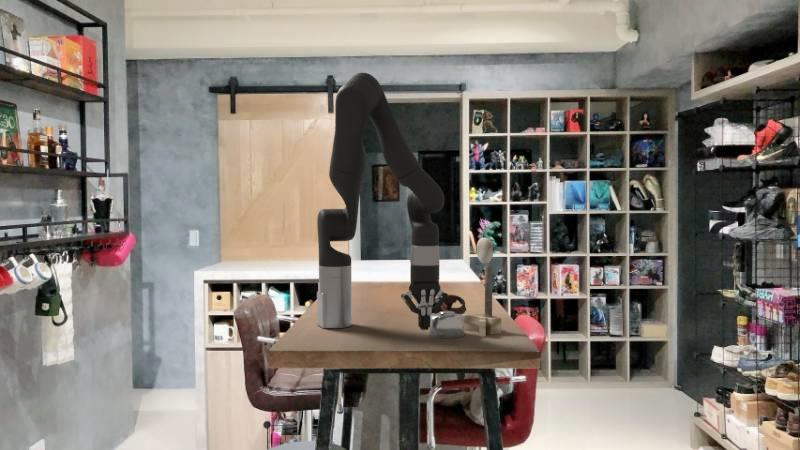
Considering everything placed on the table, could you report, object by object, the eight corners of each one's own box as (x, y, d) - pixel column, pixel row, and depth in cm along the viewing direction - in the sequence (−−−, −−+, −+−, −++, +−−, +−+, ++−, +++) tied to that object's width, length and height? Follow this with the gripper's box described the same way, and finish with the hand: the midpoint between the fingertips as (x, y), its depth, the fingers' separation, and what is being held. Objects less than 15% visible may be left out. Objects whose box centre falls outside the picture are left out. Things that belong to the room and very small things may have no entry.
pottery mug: (465, 317, 198) (470, 296, 194) (459, 336, 190) (464, 315, 186) (427, 306, 200) (432, 285, 196) (420, 324, 192) (425, 303, 188)
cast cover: (439, 339, 164) (439, 316, 163) (424, 332, 172) (424, 310, 172) (470, 336, 167) (470, 313, 167) (454, 330, 175) (454, 308, 175)
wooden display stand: (480, 336, 166) (481, 239, 165) (459, 328, 177) (459, 236, 177) (505, 334, 169) (505, 238, 168) (482, 326, 180) (482, 236, 179)
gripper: (406, 264, 160) (406, 333, 160) (454, 263, 165) (453, 330, 165) (395, 262, 167) (395, 328, 167) (441, 261, 172) (441, 325, 172)
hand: (424, 329), depth 166 cm, fingers closed
